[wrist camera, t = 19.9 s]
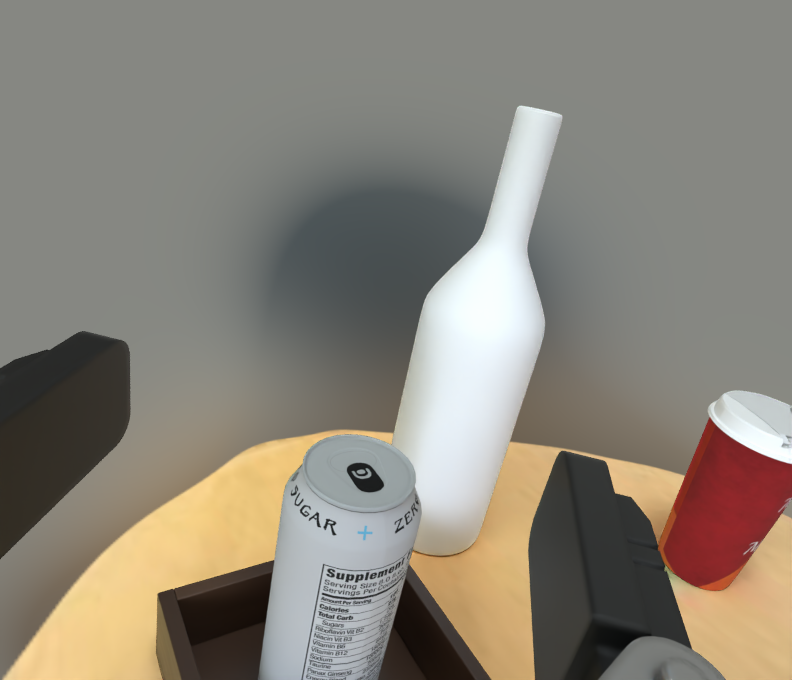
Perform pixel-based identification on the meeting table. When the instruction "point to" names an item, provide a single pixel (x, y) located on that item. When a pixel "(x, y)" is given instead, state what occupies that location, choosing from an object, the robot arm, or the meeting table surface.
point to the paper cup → (730, 490)
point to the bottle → (477, 352)
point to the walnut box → (246, 618)
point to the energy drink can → (340, 561)
